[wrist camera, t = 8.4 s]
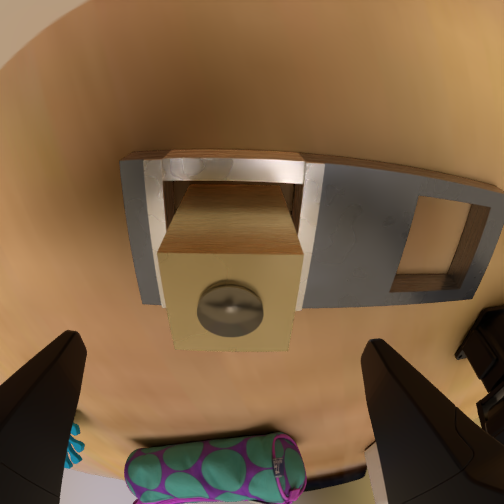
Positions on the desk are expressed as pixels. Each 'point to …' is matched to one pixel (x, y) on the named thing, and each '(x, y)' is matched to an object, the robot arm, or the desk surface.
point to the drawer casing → (323, 221)
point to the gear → (77, 446)
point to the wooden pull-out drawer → (231, 269)
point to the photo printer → (376, 474)
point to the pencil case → (218, 471)
